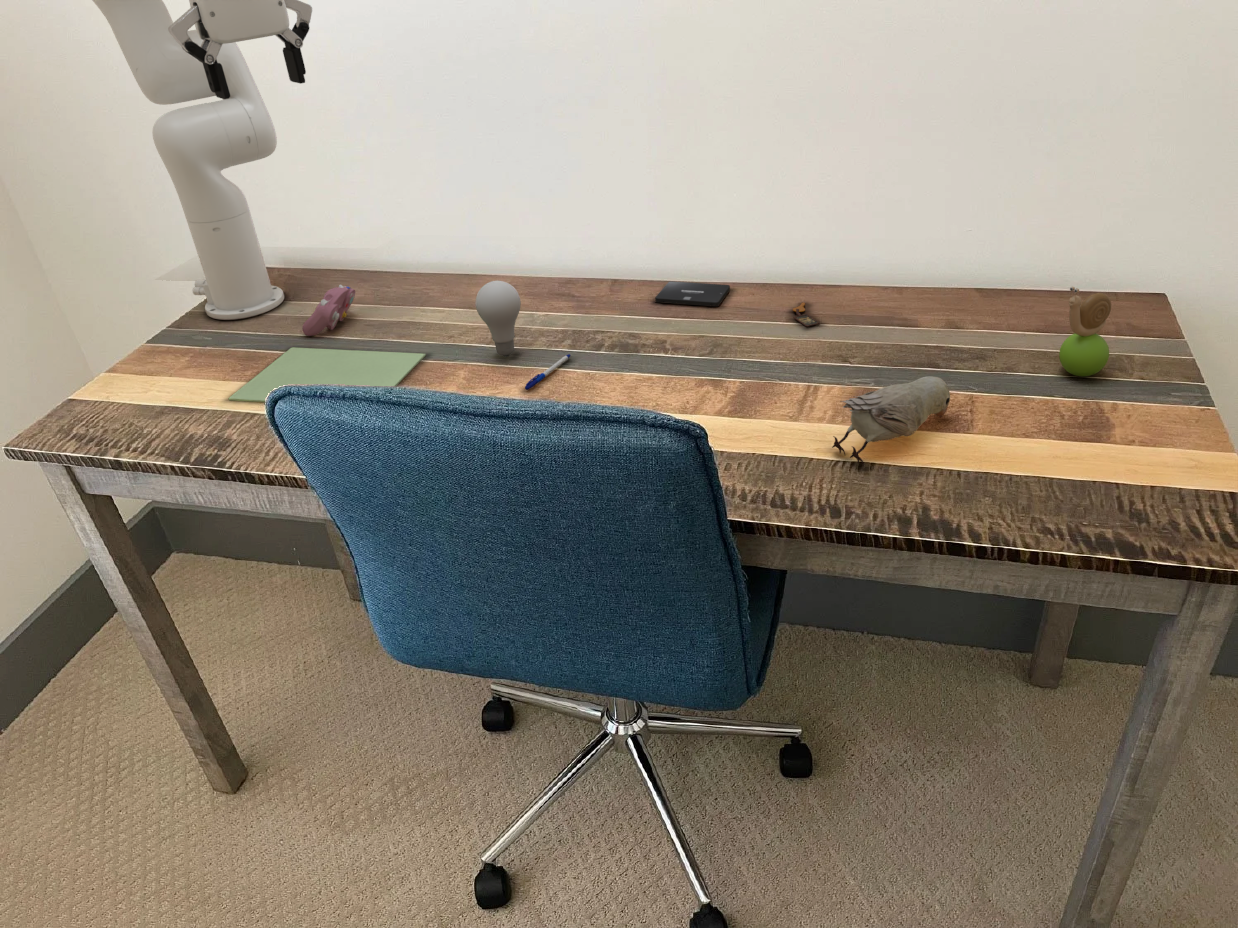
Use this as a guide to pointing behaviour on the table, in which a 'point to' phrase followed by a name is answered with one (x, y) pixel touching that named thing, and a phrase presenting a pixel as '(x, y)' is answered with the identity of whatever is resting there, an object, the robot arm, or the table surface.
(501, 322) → the lightbulb
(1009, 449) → the table surface
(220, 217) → the robot arm
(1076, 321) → the snail figurine
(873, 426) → the decorative bird
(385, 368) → the desk mat
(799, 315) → the key tag
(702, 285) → the solid state drive
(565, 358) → the ballpoint pen
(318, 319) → the video game controller
